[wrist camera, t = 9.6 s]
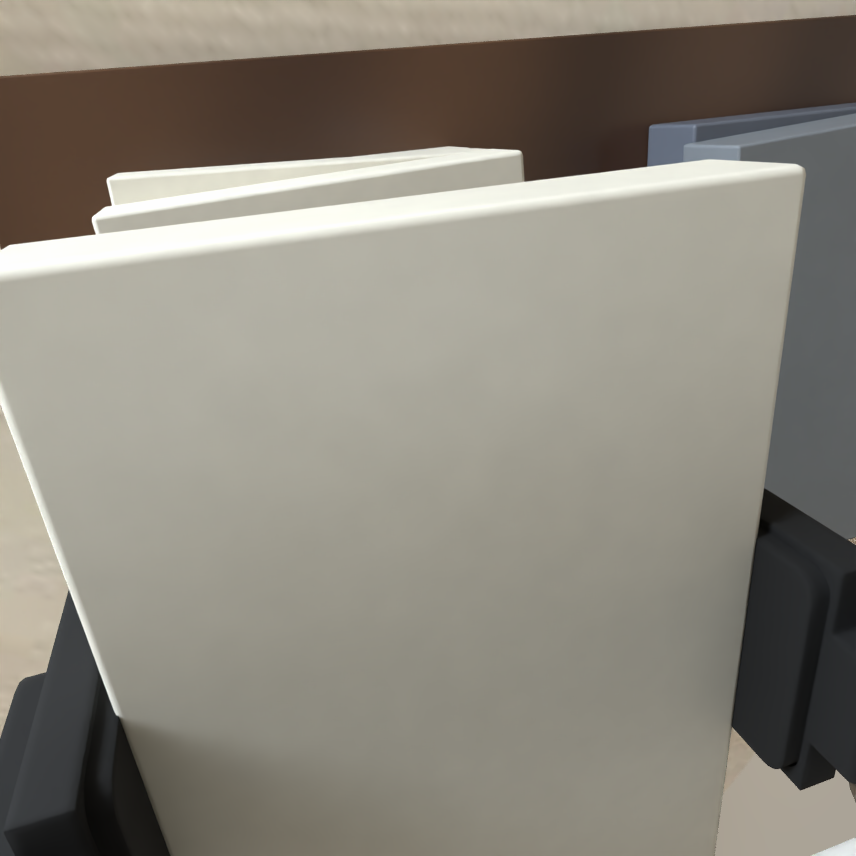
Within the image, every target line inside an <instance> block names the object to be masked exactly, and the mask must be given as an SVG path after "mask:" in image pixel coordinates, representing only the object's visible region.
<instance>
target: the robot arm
mask: <svg viewBox="0 0 856 856" xmlns="http://www.w3.org/2000/svg"><path fill="white" fill-rule="evenodd" d="M731 726H732V727H733V728H734V729H735V731H736V732H737V733H738V734H739V735H740V736H741V737H742V738H743V739H744V741H745V742H746V743H747V744H748V745H749V746H750V747H751V748H752V749H753V751H754V752H755V753H756V754H757V755H758V756H759V757H760V758H761V759H762V760H763V761H764V762H765V763H766V764H767V765H768V766H770V767H772V768H774V769H781V770H782V771H783V772H784V773H785V774H786V775H787V776H788V778H789V779H790V780H791V781H792V782H793V783H794V784H795V785H796V786H797V787H798V789H799V790H803V789H805V788H808V787H811V786H813V785H816V784H818V783H821V782H824V781H826V780H829V779H831V778H834V775H835V770H837V771H838V772H839V773H840V774H841V775H842V776H843V777H844V778H845V779H846V780H847V781H848V782H849V785H850V790H851V792H852V794H853V797H854V799H855V802H856V545H855V544H853V543H852V542H850V541H848V540H847V539H845V538H844V537H842V536H840V535H839V534H837V533H836V532H834V531H832V530H831V529H829V528H828V527H826V526H824V525H823V524H821V523H820V522H818V521H816V520H815V519H813V518H812V517H810V516H808V515H807V514H805V513H804V512H802V511H800V510H799V509H797V508H796V507H794V506H792V505H791V504H789V503H788V502H786V501H785V500H783V499H781V498H780V497H778V496H777V495H775V494H773V493H772V492H770V491H769V490H767V489H765V488H764V491H763V499H762V506H761V514H760V521H759V528H758V536H757V538H756V545H755V552H754V560H753V567H752V575H751V582H750V590H749V597H748V605H747V612H746V620H745V627H744V635H743V642H742V650H741V657H740V665H739V672H738V680H737V687H736V695H735V702H734V710H733V717H732V725H731ZM0 856H170V853H169V850H168V848H167V845H166V842H165V840H164V837H163V834H162V831H161V829H160V826H159V823H158V821H157V818H156V815H155V812H154V810H153V807H152V804H151V802H150V799H149V796H148V794H147V791H146V788H145V785H144V783H143V780H142V777H141V775H140V772H139V769H138V766H137V764H136V761H135V758H134V756H133V753H132V750H131V747H130V745H129V742H128V739H127V737H126V734H125V731H124V728H123V726H122V723H121V720H120V718H119V716H116V714H115V712H114V710H113V707H112V704H111V701H110V699H109V696H108V693H107V691H106V688H105V685H104V683H103V680H102V677H101V674H100V672H99V669H98V666H97V664H96V661H95V658H94V656H93V653H92V650H91V647H90V645H89V642H88V639H87V637H86V634H85V631H84V628H83V626H82V623H81V620H80V618H79V615H78V612H77V610H76V607H75V604H74V601H73V599H72V596H71V593H70V591H68V595H67V599H66V602H65V606H64V610H63V613H62V617H61V621H60V624H59V628H58V632H57V635H56V639H55V643H54V646H53V650H52V654H51V657H50V661H49V665H48V668H47V672H46V673H42V674H38V675H35V676H31V677H27V678H25V679H23V680H22V681H21V682H20V683H19V685H18V687H17V689H16V691H15V694H14V697H13V700H12V703H11V706H10V710H9V713H8V716H7V719H6V722H5V725H4V728H3V732H2V735H1V738H0ZM812 856H856V837H855V838H853V839H850V840H848V841H846V842H843V843H841V844H838V845H836V846H834V847H831V848H829V849H826V850H824V851H821V852H819V853H816V854H814V855H812Z"/></svg>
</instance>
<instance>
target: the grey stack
mask: <svg viewBox="0 0 856 856" xmlns="http://www.w3.org/2000/svg"><path fill="white" fill-rule="evenodd" d="M708 159H713V160H732V161H751V162H769V163H788V164H797V165H799V166H802V167H803V168H805V172H806V179H805V186H804V194H803V201H802V209H801V216H800V223H799V231H798V238H797V246H796V253H795V261H794V268H793V275H792V283H791V290H790V298H789V305H788V313H787V320H786V328H785V335H784V342H783V350H782V357H781V365H780V372H779V380H778V387H777V395H776V402H775V409H774V417H773V424H772V432H771V439H770V447H769V454H768V461H767V469H766V476H765V484H764V488H765V489H767V490H769V491H770V492H772V493H773V494H775V495H777V496H778V497H780V498H781V499H783V500H785V501H786V502H788V503H789V504H791V505H792V506H794V507H796V508H797V509H799V510H800V511H802V512H804V513H805V514H807V515H808V516H810V517H812V518H813V519H815V520H816V521H818V522H820V523H821V524H823V525H824V526H826V527H828V528H829V529H831V530H832V531H834V532H836V533H837V534H839V535H840V536H842V537H844V538H845V539H847V540H849V539H852V538H855V537H856V103H846V104H837V105H828V106H818V107H809V108H800V109H791V110H781V111H772V112H763V113H753V114H744V115H735V116H726V117H716V118H707V119H698V120H688V121H679V122H670V123H661V124H652V125H651V126H650V127H649V138H648V161H647V167H651V166H659V165H667V164H675V163H683V162H691V161H700V160H708Z"/></svg>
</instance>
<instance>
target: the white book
mask: <svg viewBox="0 0 856 856" xmlns="http://www.w3.org/2000/svg"><path fill="white" fill-rule="evenodd" d="M805 179H806V172H805V168H803V167H802V166H799V165H797V164H788V163H769V162H751V161H732V160H713V159H708V160H700V161H691V162H683V163H675V164H667V165H659V166H651V167H643V168H634V169H626V170H618V171H610V172H602V173H594V174H585V175H577V176H569V177H561V178H553V179H545V180H536V181H528V182H520V183H512V184H504V185H496V186H488V187H479V188H471V189H463V190H455V191H447V192H439V193H430V194H422V195H414V196H406V197H398V198H390V199H381V200H373V201H365V202H357V203H349V204H341V205H333V206H324V207H316V208H308V209H300V210H292V211H284V212H275V213H267V214H259V215H251V216H243V217H235V218H226V219H218V220H210V221H202V222H194V223H186V224H178V225H169V226H161V227H153V228H145V229H137V230H129V231H120V232H112V233H104V234H96V235H88V236H80V237H71V238H63V239H55V240H47V241H39V242H31V243H23V244H14V245H9V246H7V247H6V248H4V249H2V250H0V404H1V407H2V409H3V412H4V415H5V418H6V420H7V423H8V426H9V428H10V431H11V434H12V437H13V439H14V442H15V445H16V447H17V450H18V453H19V455H20V458H21V461H22V464H23V466H24V469H25V472H26V474H27V477H28V480H29V482H30V485H31V488H32V491H33V493H34V496H35V499H36V501H37V504H38V507H39V510H40V512H41V515H42V518H43V520H44V523H45V526H46V528H47V531H48V534H49V537H50V539H51V542H52V545H53V547H54V550H55V553H56V555H57V558H58V561H59V564H60V566H61V569H62V572H63V574H64V577H65V580H66V583H67V585H68V588H69V591H70V593H71V596H72V599H73V601H74V604H75V607H76V610H77V612H78V615H79V618H80V620H81V623H82V626H83V628H84V631H85V634H86V637H87V639H88V642H89V645H90V647H91V650H92V653H93V656H94V658H95V661H96V664H97V666H98V669H99V672H100V674H101V677H102V680H103V683H104V685H105V688H106V691H107V693H108V696H109V699H110V701H111V704H112V707H113V710H114V712H115V714H116V716H119V718H120V720H121V723H122V726H123V728H124V731H125V734H126V737H127V739H128V742H129V745H130V747H131V750H132V753H133V756H134V758H135V761H136V764H137V766H138V769H139V772H140V775H141V777H142V780H143V783H144V785H145V788H146V791H147V794H148V796H149V799H150V802H151V804H152V807H153V810H154V812H155V815H156V818H157V821H158V823H159V826H160V829H161V831H162V834H163V837H164V840H165V842H166V845H167V848H168V850H169V853H170V856H715V848H716V840H717V833H718V826H719V818H720V811H721V803H722V796H723V789H724V781H725V774H726V767H727V759H728V752H729V744H730V737H731V729H732V726H731V725H732V717H733V710H734V702H735V695H736V687H737V680H738V672H739V665H740V657H741V650H742V642H743V635H744V627H745V620H746V612H747V605H748V597H749V590H750V582H751V575H752V567H753V560H754V552H755V545H756V538H757V536H758V528H759V521H760V514H761V506H762V499H763V491H764V484H765V476H766V469H767V461H768V454H769V447H770V439H771V432H772V424H773V417H774V409H775V402H776V395H777V387H778V380H779V372H780V365H781V357H782V350H783V342H784V335H785V328H786V320H787V313H788V305H789V298H790V290H791V283H792V275H793V268H794V261H795V253H796V246H797V238H798V231H799V223H800V216H801V209H802V201H803V194H804V186H805Z"/></svg>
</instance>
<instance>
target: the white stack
mask: <svg viewBox="0 0 856 856" xmlns="http://www.w3.org/2000/svg"><path fill="white" fill-rule="evenodd" d="M520 182H524V166H523V154H522V152H521V151H519V150H505V149H479V148H471V149H470V148H468V147H451V146H447V147H438V148H429V149H419V150H410V151H401V152H392V153H382V154H373V155H364V156H354V157H342V158H327V159H313V160H298V161H284V162H269V163H255V164H241V165H226V166H212V167H197V168H183V169H168V170H154V171H140V172H125V173H117V174H115V175H113V176H111V177H109V178H107V185H108V189H109V194H110V198H111V203H112V206H108V207H105V208H103V209H102V210H101V211H99V212H98V213H97V214H96V215H94V216H93V217H92V223H93V226H94V230H95V233H96V234H104V233H112V232H120V231H129V230H137V229H145V228H153V227H161V226H169V225H178V224H186V223H194V222H202V221H210V220H218V219H226V218H235V217H243V216H251V215H259V214H267V213H275V212H284V211H292V210H300V209H308V208H316V207H324V206H333V205H341V204H349V203H357V202H365V201H373V200H381V199H390V198H398V197H406V196H414V195H422V194H430V193H439V192H447V191H455V190H463V189H471V188H479V187H488V186H496V185H504V184H512V183H520Z"/></svg>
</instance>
